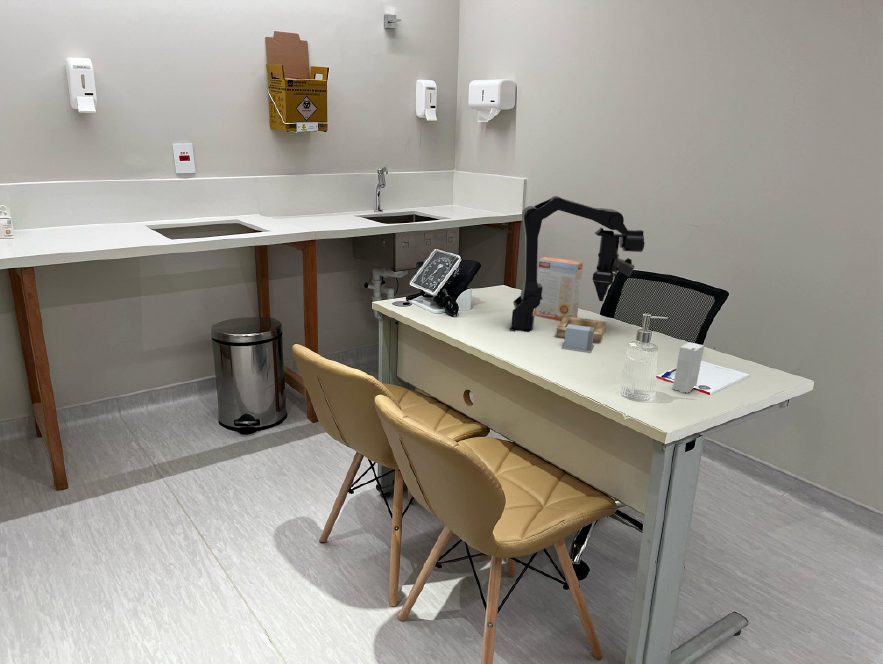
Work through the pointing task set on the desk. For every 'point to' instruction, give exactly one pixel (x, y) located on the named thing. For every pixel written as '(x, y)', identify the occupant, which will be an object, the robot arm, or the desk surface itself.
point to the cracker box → (559, 288)
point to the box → (579, 337)
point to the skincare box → (688, 367)
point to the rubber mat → (577, 349)
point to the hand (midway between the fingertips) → (602, 298)
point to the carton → (595, 324)
